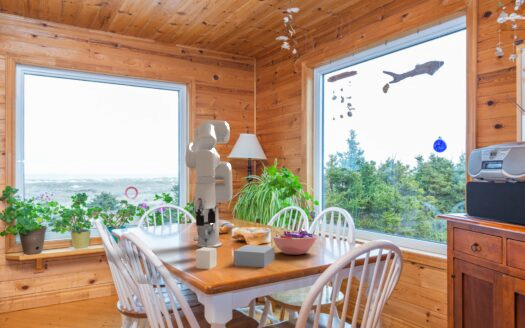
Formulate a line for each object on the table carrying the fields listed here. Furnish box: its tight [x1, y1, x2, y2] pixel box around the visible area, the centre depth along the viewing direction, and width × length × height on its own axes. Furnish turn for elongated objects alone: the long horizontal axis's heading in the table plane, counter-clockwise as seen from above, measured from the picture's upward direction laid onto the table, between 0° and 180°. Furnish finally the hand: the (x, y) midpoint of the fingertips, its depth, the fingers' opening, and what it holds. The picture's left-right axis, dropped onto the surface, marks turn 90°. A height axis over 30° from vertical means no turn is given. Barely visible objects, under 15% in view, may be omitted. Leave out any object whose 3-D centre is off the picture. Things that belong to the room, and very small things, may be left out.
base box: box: [233, 244, 276, 268], centre depth 158 cm, size 13×13×6 cm
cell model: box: [272, 228, 318, 256], centre depth 173 cm, size 17×20×11 cm
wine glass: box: [196, 222, 215, 247], centre depth 168 cm, size 8×8×15 cm
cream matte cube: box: [195, 247, 218, 270], centre depth 151 cm, size 6×6×7 cm
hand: (206, 224), depth 151 cm, fingers open, 9 cm apart
